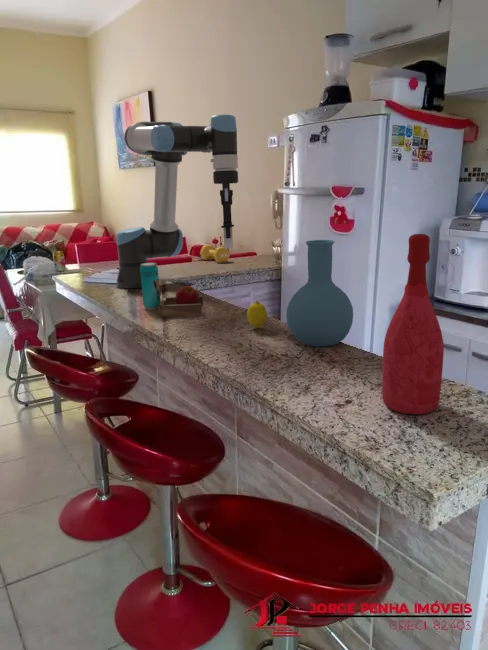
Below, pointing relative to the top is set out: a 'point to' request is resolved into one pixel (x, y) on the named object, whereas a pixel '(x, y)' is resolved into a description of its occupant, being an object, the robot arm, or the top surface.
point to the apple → (187, 296)
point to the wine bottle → (413, 342)
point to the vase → (319, 302)
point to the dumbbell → (215, 253)
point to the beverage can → (150, 285)
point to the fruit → (257, 314)
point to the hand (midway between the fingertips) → (228, 248)
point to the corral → (179, 308)
